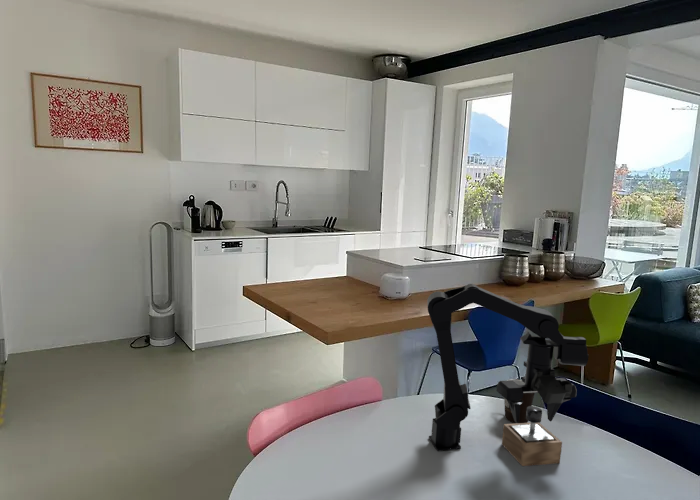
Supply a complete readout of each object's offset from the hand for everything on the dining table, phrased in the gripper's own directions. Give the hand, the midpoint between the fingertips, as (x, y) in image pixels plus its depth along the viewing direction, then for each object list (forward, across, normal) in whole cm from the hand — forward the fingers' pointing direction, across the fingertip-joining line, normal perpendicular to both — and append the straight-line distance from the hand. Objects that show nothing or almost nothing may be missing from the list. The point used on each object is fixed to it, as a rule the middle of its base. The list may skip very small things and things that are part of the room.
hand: (533, 421), depth 124 cm
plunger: (+3, 0, 0) cm, 3 cm away
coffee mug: (+9, +7, +19) cm, 22 cm away
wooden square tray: (+8, 0, 0) cm, 8 cm away
